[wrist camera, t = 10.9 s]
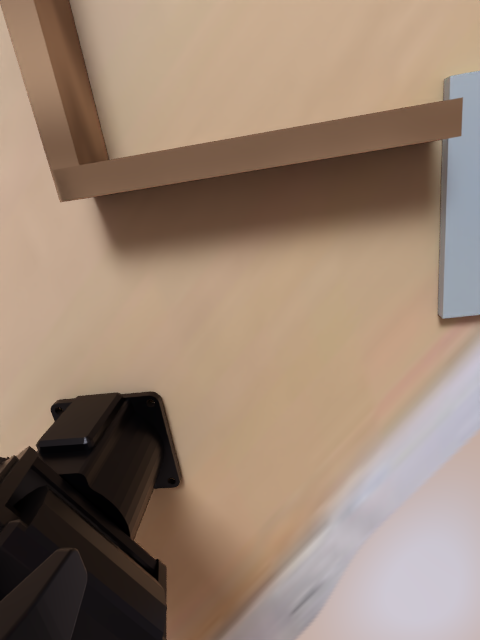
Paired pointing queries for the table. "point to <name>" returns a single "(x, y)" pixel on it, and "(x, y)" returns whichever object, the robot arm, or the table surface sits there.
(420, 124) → the walnut cubby
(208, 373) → the table surface
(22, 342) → the table surface
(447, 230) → the pad
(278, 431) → the table surface
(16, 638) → the robot arm
